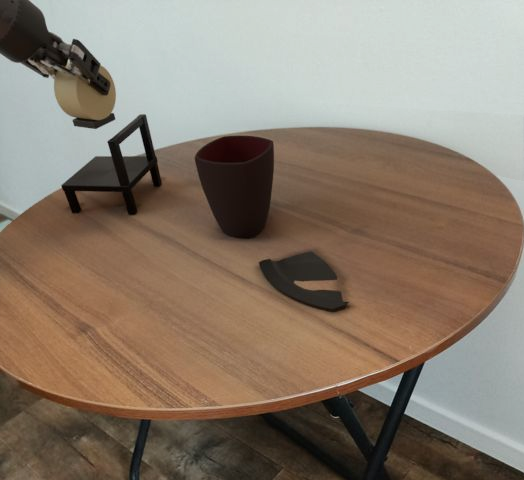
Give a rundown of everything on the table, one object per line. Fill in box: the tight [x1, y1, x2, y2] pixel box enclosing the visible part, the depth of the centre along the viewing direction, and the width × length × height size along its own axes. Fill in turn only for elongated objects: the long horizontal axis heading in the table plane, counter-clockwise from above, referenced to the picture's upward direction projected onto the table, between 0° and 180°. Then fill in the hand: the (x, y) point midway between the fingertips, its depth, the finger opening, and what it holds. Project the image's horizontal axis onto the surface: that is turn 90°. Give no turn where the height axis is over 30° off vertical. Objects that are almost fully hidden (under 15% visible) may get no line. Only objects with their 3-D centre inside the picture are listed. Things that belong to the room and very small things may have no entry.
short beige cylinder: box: [53, 61, 117, 130], centre depth 78 cm, size 5×8×8 cm, turn 149°
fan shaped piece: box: [258, 251, 350, 313], centre depth 64 cm, size 8×14×2 cm, turn 21°
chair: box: [60, 113, 163, 216], centre depth 87 cm, size 12×12×12 cm
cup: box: [194, 135, 275, 239], centre depth 76 cm, size 10×14×12 cm
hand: (94, 88), depth 79 cm, fingers closed on short beige cylinder, 4 cm apart
